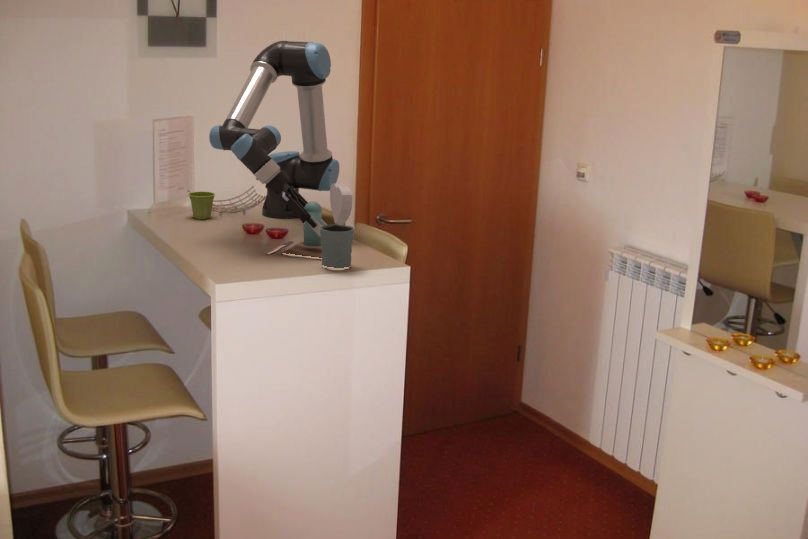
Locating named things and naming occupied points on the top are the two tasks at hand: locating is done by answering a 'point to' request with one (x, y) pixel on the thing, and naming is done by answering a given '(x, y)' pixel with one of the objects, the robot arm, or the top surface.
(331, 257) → the grey textured cup
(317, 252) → the board
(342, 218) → the heart sculpture
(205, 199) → the plant pot
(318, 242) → the teal domed cylinder
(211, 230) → the top surface
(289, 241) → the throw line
